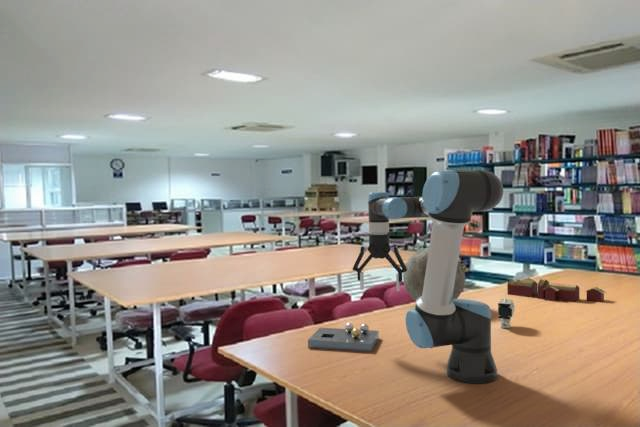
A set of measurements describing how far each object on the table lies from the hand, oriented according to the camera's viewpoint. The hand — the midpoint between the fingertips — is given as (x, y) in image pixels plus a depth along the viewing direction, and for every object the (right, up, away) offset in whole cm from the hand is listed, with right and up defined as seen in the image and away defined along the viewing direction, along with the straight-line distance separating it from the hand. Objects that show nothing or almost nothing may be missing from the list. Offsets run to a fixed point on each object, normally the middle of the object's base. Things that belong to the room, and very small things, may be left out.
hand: (379, 290), depth 181 cm
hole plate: (-13, -21, +5) cm, 25 cm away
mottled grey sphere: (+35, -18, +60) cm, 72 cm away
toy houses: (+103, -17, +77) cm, 129 cm away
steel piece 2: (-5, -16, +8) cm, 19 cm away
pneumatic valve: (+56, -19, +21) cm, 63 cm away
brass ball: (-9, -16, +1) cm, 19 cm away
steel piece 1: (-11, -16, +9) cm, 22 cm away
